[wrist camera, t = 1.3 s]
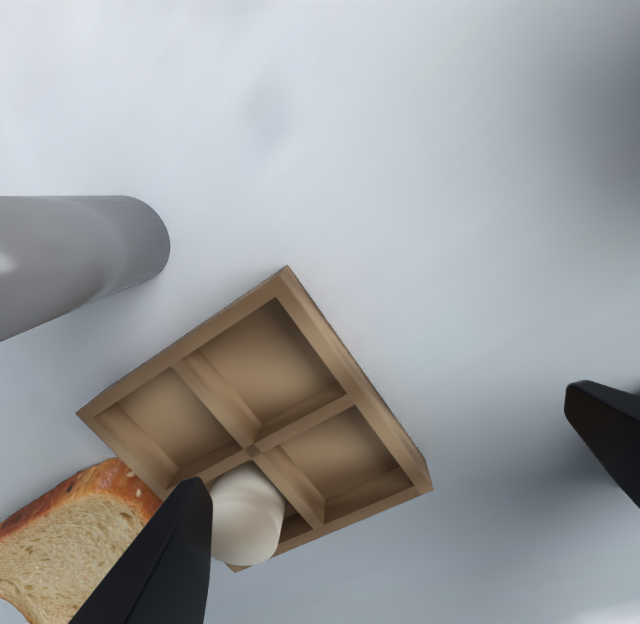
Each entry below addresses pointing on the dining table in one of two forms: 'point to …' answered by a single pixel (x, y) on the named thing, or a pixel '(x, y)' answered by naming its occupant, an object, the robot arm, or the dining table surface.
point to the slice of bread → (71, 540)
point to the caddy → (262, 426)
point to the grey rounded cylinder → (72, 254)
